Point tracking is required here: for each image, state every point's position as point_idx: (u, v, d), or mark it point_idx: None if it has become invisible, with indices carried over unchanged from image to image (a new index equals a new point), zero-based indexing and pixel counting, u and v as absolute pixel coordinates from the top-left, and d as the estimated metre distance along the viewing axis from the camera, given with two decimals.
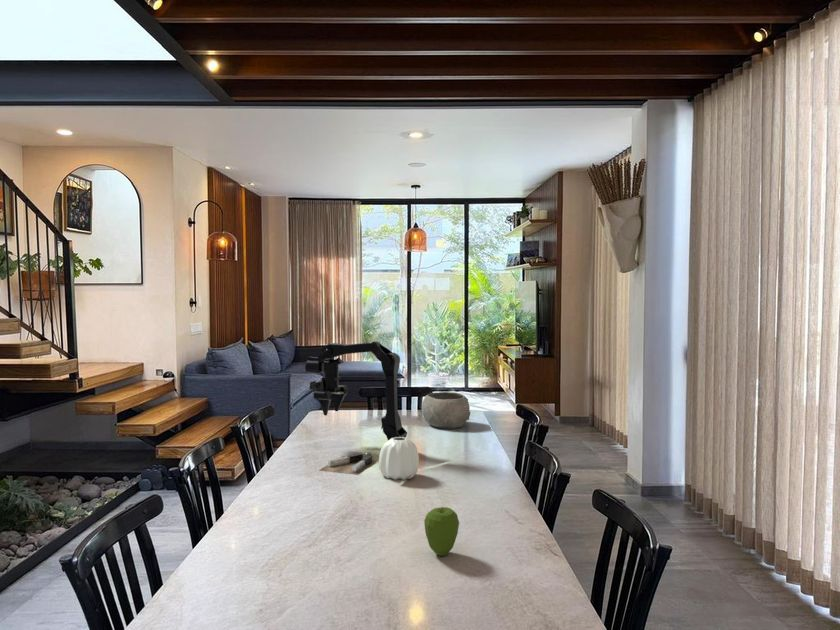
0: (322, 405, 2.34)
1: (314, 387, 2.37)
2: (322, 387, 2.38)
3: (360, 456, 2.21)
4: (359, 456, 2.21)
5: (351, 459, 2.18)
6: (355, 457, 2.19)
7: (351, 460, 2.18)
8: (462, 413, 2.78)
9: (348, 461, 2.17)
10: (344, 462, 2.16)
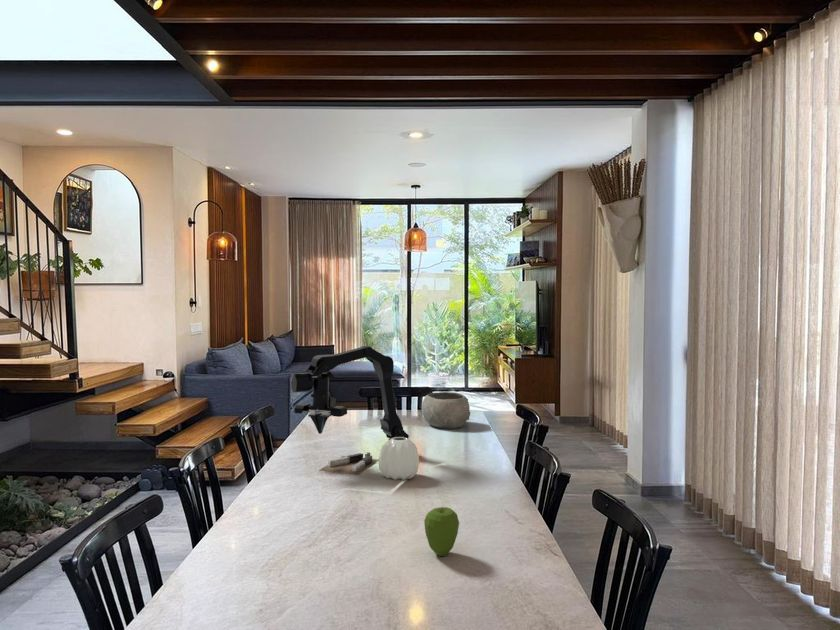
0: None
1: None
2: None
3: (360, 456, 2.21)
4: (359, 456, 2.21)
5: (351, 459, 2.18)
6: (355, 457, 2.19)
7: (351, 460, 2.18)
8: (462, 413, 2.78)
9: (348, 461, 2.17)
10: (344, 462, 2.16)
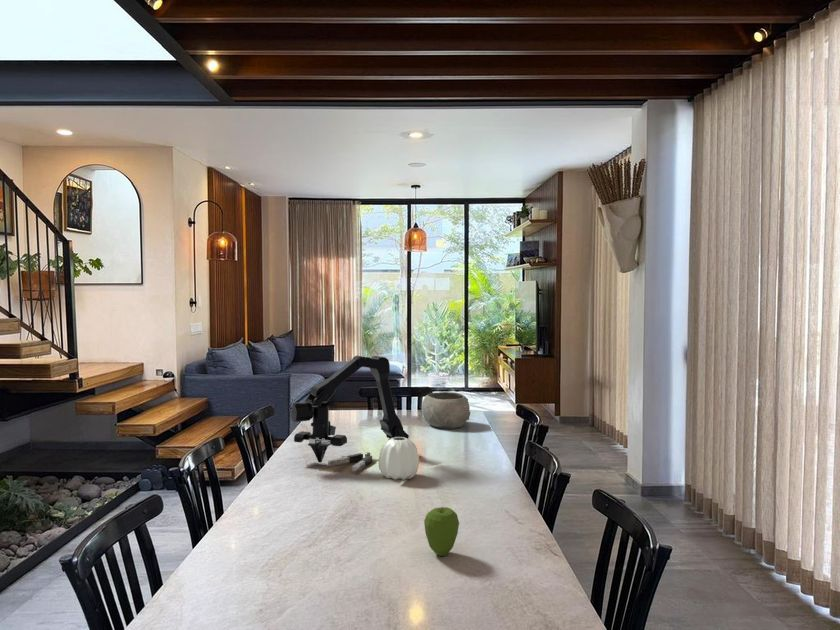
0: None
1: None
2: None
3: (360, 456, 2.21)
4: (359, 456, 2.21)
5: (351, 459, 2.18)
6: (355, 457, 2.19)
7: (351, 460, 2.18)
8: (462, 413, 2.78)
9: (348, 461, 2.17)
10: (344, 462, 2.16)
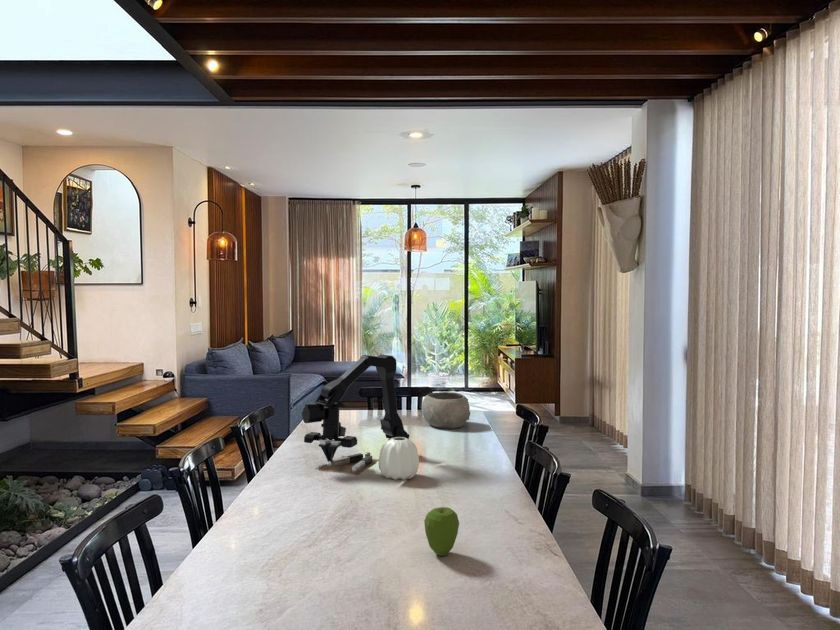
0: None
1: None
2: None
3: (360, 456, 2.21)
4: (359, 456, 2.21)
5: (351, 459, 2.18)
6: (355, 457, 2.19)
7: (351, 460, 2.18)
8: (462, 413, 2.78)
9: (348, 461, 2.17)
10: (344, 462, 2.16)
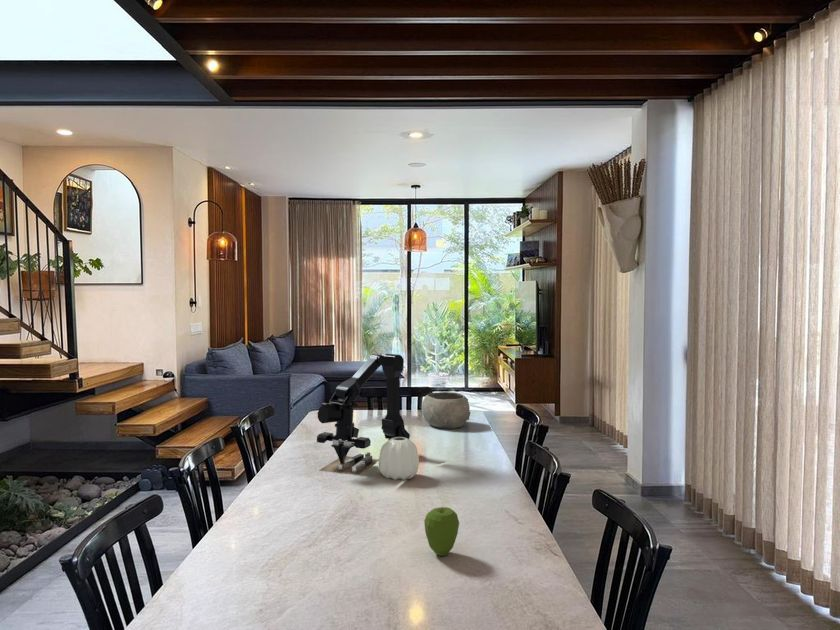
0: None
1: None
2: None
3: (362, 456, 2.20)
4: (361, 457, 2.20)
5: (356, 460, 2.16)
6: (358, 458, 2.18)
7: (356, 461, 2.16)
8: (462, 413, 2.78)
9: (354, 463, 2.15)
10: (351, 464, 2.14)
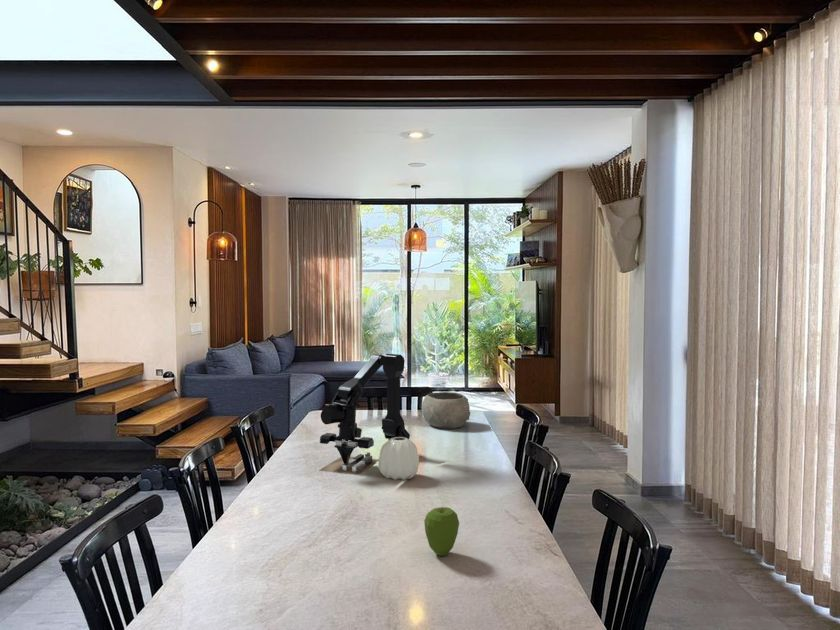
0: None
1: None
2: None
3: (362, 456, 2.20)
4: (362, 457, 2.19)
5: (358, 460, 2.16)
6: (360, 458, 2.18)
7: None
8: (462, 413, 2.78)
9: (356, 463, 2.15)
10: (353, 465, 2.13)
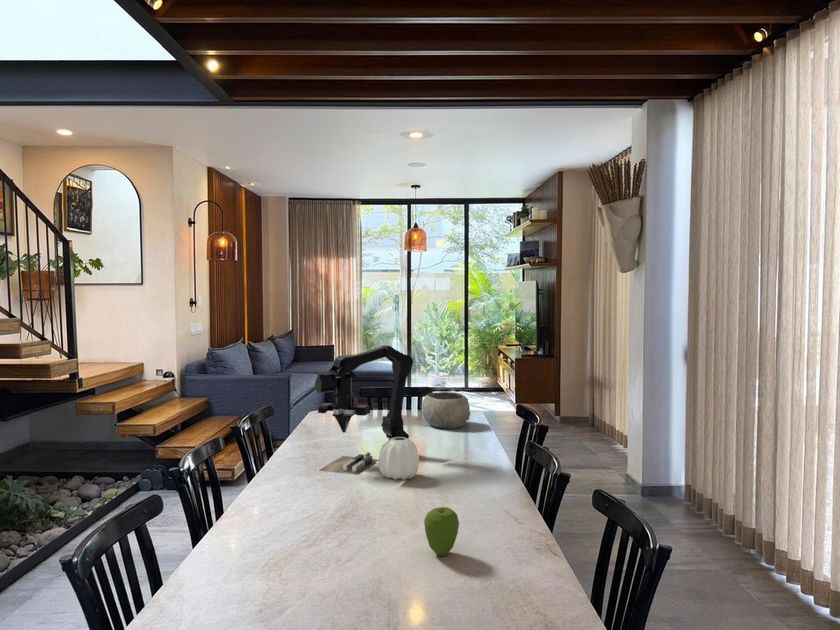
0: None
1: None
2: None
3: (362, 456, 2.20)
4: (362, 457, 2.19)
5: (358, 460, 2.16)
6: (360, 458, 2.18)
7: None
8: (462, 413, 2.78)
9: (356, 463, 2.15)
10: None
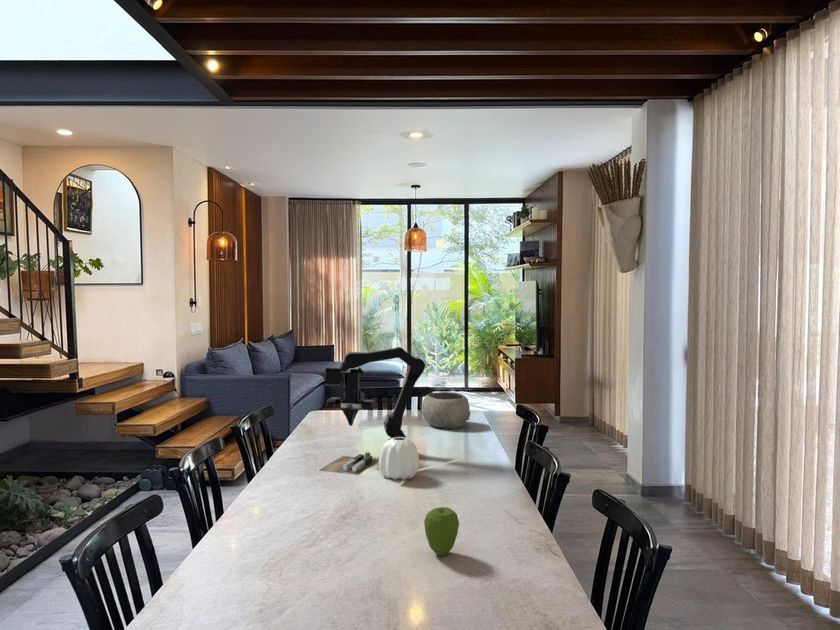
0: None
1: None
2: None
3: (362, 456, 2.20)
4: (362, 457, 2.19)
5: (358, 460, 2.16)
6: (360, 458, 2.18)
7: None
8: (462, 413, 2.78)
9: (356, 463, 2.15)
10: None
